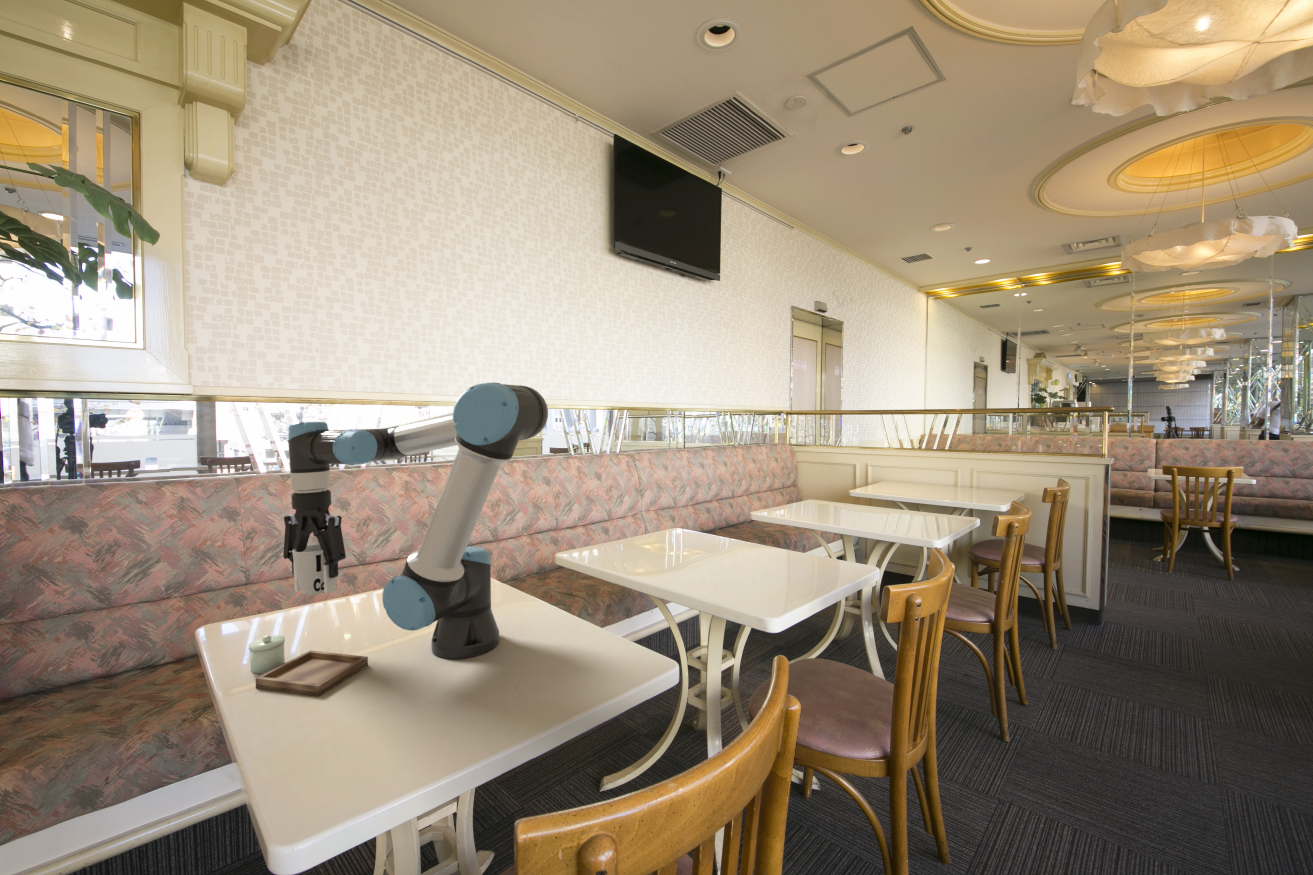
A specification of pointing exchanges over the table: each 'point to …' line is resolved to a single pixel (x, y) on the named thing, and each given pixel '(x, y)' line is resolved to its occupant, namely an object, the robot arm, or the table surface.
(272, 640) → the sugar pot
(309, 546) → the cup
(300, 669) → the tray
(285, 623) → the table surface
